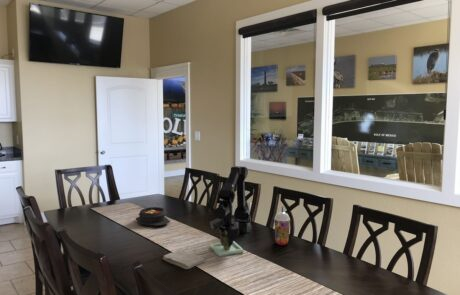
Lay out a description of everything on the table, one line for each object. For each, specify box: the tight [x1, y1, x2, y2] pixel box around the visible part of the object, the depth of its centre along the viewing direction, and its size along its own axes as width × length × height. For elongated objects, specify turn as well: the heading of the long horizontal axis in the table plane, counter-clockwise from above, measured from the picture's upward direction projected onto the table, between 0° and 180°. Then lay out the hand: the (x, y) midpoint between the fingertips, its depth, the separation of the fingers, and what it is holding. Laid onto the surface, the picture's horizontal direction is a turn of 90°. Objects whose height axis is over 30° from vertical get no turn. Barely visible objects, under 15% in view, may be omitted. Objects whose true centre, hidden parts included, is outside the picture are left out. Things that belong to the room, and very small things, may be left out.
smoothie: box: [273, 206, 291, 246], centre depth 196 cm, size 8×8×20 cm
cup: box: [219, 232, 233, 250], centre depth 187 cm, size 8×7×8 cm
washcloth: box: [162, 248, 206, 270], centre depth 174 cm, size 12×18×3 cm, turn 51°
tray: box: [209, 240, 244, 257], centre depth 187 cm, size 13×13×2 cm
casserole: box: [135, 206, 171, 227], centre depth 231 cm, size 25×19×8 cm
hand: (226, 243), depth 187 cm, fingers open, 9 cm apart
